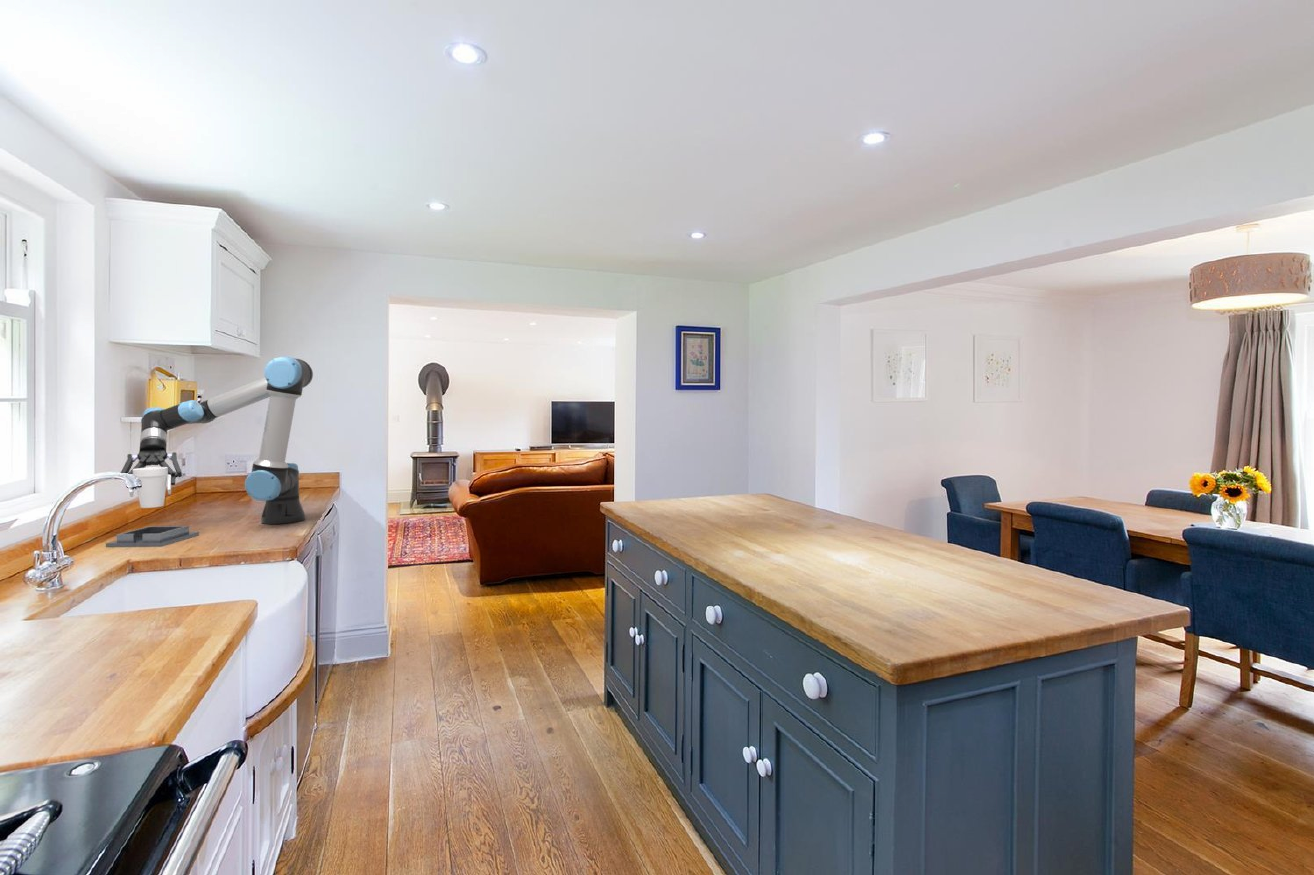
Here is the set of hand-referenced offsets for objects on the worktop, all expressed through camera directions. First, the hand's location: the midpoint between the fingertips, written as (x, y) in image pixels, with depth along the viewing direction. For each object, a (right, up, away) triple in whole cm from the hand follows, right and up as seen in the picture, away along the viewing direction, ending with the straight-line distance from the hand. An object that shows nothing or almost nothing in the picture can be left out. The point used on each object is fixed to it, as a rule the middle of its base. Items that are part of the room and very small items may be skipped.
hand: (150, 493), depth 220 cm
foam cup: (-2, -5, +3) cm, 6 cm away
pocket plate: (-1, -17, +3) cm, 17 cm away
